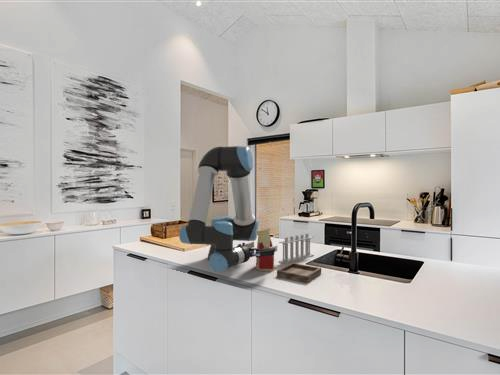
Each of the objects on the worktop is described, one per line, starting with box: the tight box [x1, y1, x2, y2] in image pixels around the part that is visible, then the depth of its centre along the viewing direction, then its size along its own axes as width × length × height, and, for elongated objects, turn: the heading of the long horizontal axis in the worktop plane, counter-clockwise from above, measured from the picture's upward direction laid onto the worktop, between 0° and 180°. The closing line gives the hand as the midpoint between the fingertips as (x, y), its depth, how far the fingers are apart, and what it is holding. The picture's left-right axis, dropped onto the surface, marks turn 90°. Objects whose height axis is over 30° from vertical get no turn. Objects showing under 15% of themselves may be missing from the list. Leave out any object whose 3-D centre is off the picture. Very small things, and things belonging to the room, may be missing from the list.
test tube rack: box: [278, 232, 315, 265], centre depth 163 cm, size 25×4×13 cm, turn 132°
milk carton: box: [255, 227, 275, 272], centre depth 146 cm, size 9×9×20 cm
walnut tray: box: [276, 262, 322, 284], centre depth 135 cm, size 15×15×3 cm
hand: (264, 246), depth 145 cm, fingers open, 13 cm apart
